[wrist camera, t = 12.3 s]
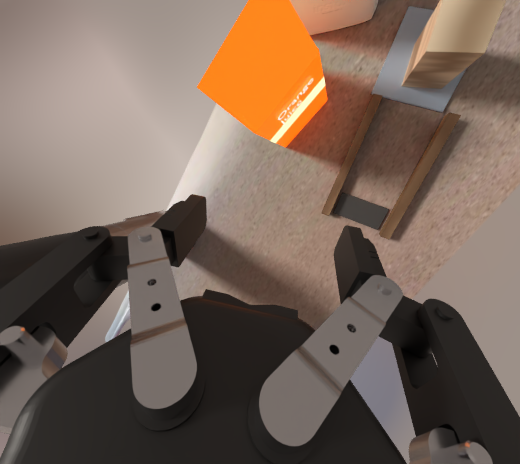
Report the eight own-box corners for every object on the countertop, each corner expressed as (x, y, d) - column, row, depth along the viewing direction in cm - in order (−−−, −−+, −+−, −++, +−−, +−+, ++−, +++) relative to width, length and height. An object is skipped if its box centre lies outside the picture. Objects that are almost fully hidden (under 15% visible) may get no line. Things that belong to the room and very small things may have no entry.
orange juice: (253, 114, 36) (164, 54, 18) (292, 63, 32) (230, -78, 14) (286, 148, 36) (229, 123, 17) (329, 100, 32) (314, 5, 14)
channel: (322, 211, 36) (321, 213, 35) (371, 97, 30) (373, 93, 29) (387, 236, 34) (389, 239, 32) (454, 118, 28) (460, 115, 26)
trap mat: (333, 212, 36) (333, 212, 35) (342, 192, 34) (342, 192, 34) (377, 229, 34) (377, 229, 34) (388, 209, 33) (388, 209, 33)
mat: (370, 94, 30) (371, 93, 30) (407, 8, 27) (408, 6, 26) (441, 112, 28) (442, 111, 28) (491, 21, 25) (493, 19, 24)
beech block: (401, 86, 28) (425, 51, 20) (414, 44, 27) (446, -12, 19) (441, 88, 27) (484, 52, 19) (457, 45, 26) (511, -14, 18)
